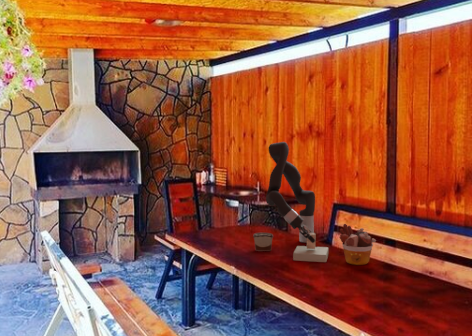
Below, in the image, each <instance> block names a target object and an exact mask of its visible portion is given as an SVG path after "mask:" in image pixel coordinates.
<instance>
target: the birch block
mask: <svg viewBox="0 0 472 336" xmlns="http://www.w3.org/2000/svg"><path fill="white" fill-rule="evenodd" d="M309 234H310V235H311V236H312V237H313V238H314V239H315V242H314V243H312V242H311V241H310V240H309V239H308V238H307V243H306V246H307V249H315V247H317V246H316V241H317V240H316V239H317V238H316V235H317V234H316V233H315V232H314V233H309Z"/></svg>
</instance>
